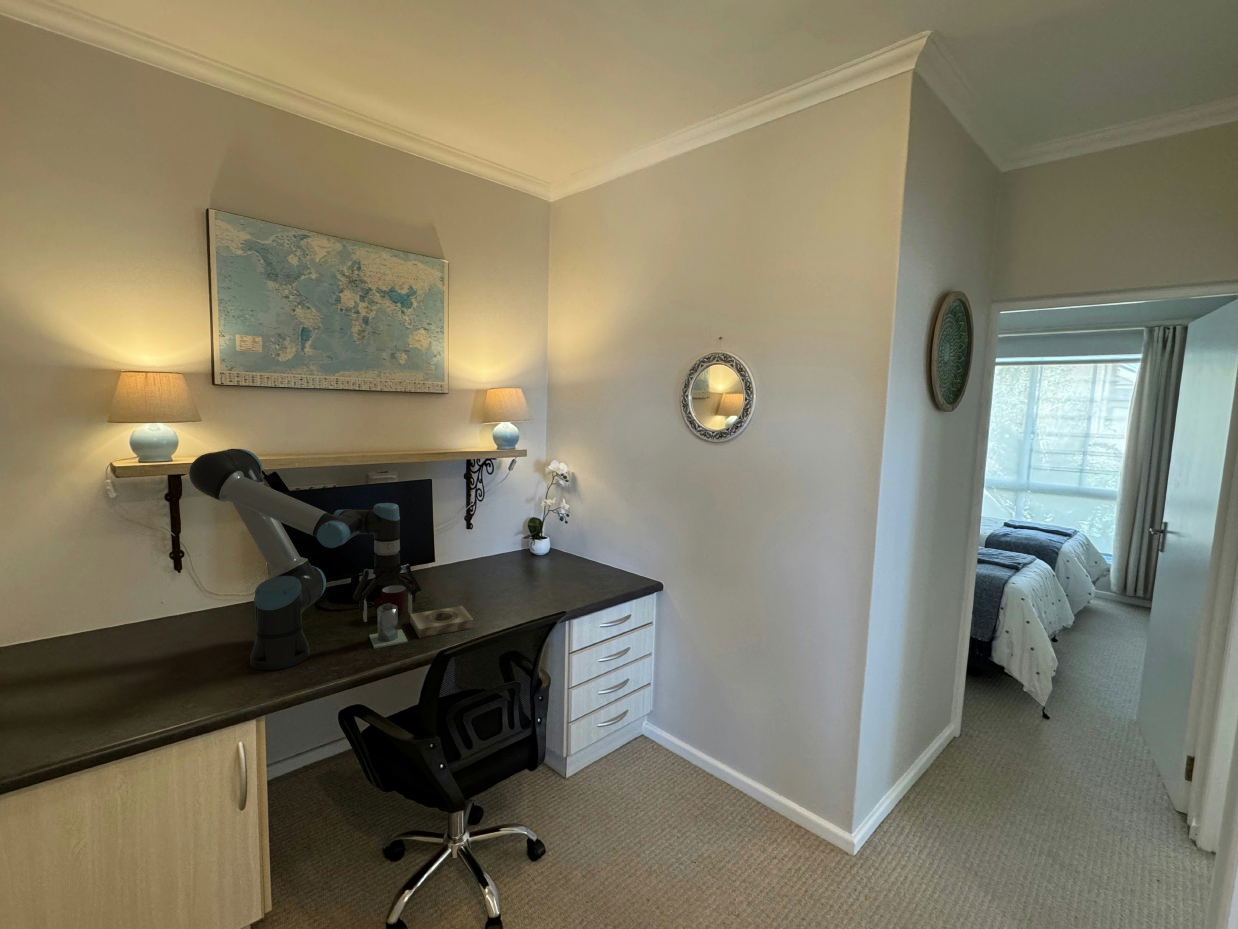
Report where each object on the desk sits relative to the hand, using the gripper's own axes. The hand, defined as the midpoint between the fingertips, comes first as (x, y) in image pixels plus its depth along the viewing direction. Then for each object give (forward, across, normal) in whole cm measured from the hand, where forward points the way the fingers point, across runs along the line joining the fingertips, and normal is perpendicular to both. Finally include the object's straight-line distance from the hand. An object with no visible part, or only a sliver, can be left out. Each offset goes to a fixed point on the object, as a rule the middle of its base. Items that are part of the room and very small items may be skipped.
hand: (388, 616), depth 185 cm
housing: (+8, +18, +4) cm, 20 cm away
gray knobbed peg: (+7, 0, 0) cm, 7 cm away
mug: (+8, +4, +19) cm, 21 cm away
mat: (+8, 0, 0) cm, 8 cm away
